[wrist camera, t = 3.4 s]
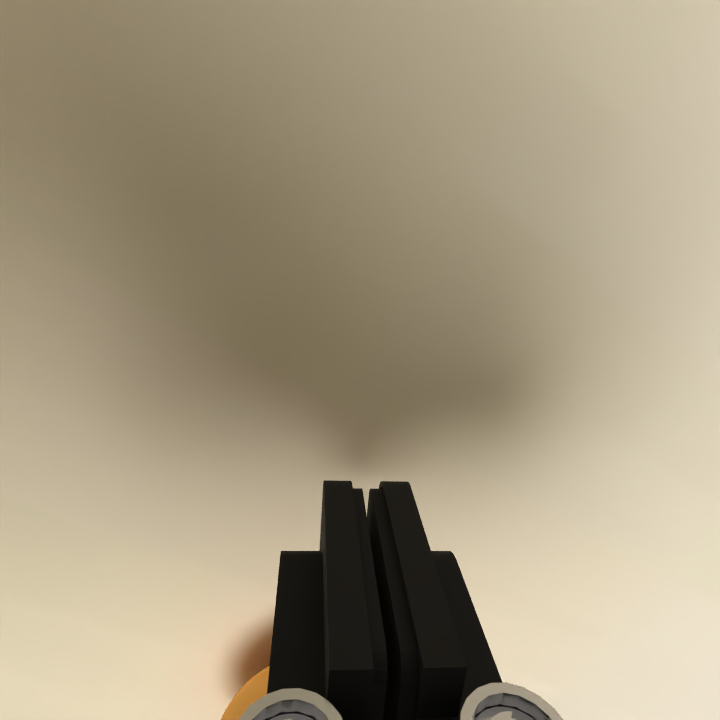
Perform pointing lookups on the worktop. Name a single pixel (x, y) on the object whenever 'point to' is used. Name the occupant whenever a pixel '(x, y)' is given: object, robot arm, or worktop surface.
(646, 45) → the worktop surface
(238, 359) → the worktop surface
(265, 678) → the ball
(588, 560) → the worktop surface
